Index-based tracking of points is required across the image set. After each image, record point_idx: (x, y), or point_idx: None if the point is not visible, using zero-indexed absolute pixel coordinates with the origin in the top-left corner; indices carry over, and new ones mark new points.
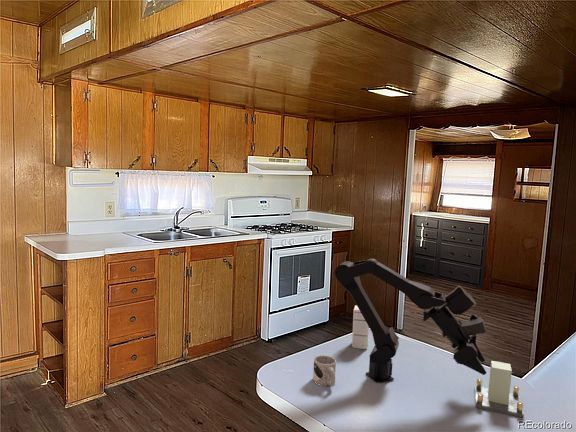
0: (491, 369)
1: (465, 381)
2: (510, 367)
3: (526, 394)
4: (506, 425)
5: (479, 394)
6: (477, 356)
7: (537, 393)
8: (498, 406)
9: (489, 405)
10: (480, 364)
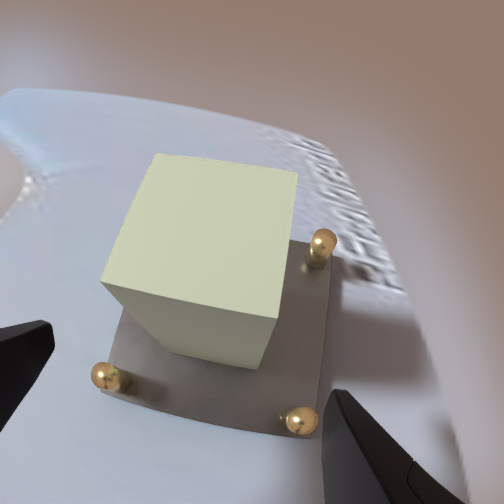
0: (226, 322)
1: (48, 410)
2: (226, 164)
3: (131, 193)
4: (410, 331)
5: (299, 425)
6: (18, 379)
7: (122, 161)
8: (301, 336)
9: (304, 376)
10: (406, 458)
